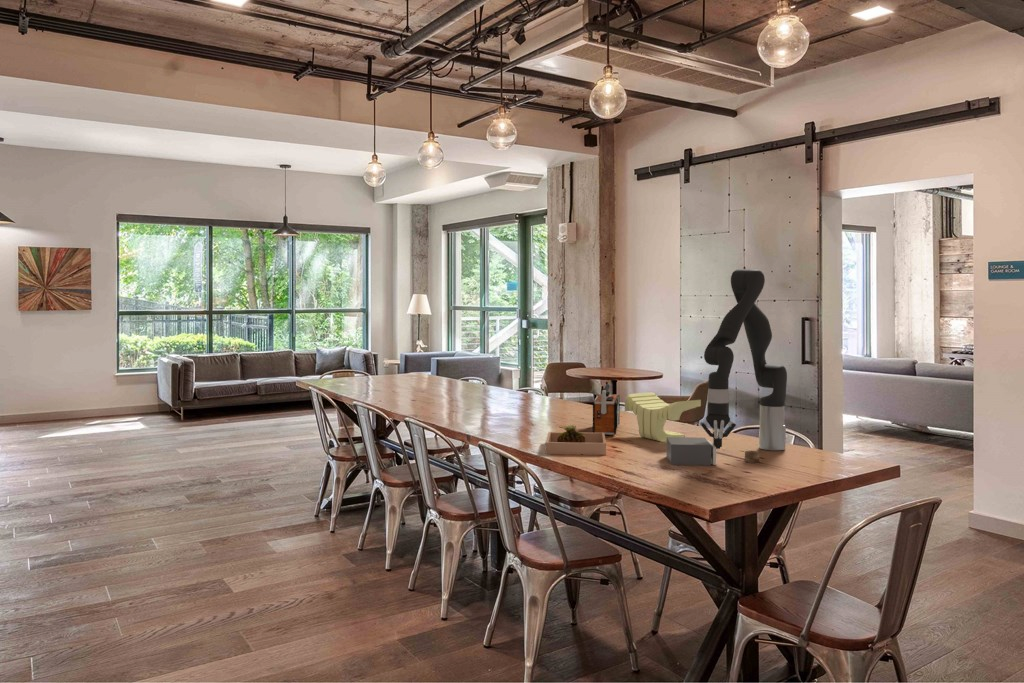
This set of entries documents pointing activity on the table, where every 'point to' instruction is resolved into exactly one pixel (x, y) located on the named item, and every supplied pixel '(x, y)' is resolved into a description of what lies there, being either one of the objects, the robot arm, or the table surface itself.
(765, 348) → the robot arm
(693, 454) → the housing
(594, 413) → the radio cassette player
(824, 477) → the table surface
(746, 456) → the pedestal
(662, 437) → the slatted curved stool
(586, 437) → the planter frame
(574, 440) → the cactus
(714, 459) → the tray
